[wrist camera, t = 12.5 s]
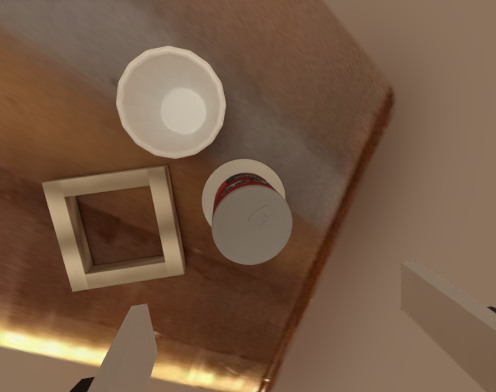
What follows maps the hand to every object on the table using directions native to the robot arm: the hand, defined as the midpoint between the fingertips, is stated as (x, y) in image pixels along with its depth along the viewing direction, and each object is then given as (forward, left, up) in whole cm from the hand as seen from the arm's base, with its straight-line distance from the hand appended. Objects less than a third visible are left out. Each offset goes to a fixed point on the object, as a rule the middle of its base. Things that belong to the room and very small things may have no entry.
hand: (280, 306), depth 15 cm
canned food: (0, 0, -24) cm, 24 cm away
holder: (+1, -16, -24) cm, 29 cm away
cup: (-12, -6, -25) cm, 28 cm away
